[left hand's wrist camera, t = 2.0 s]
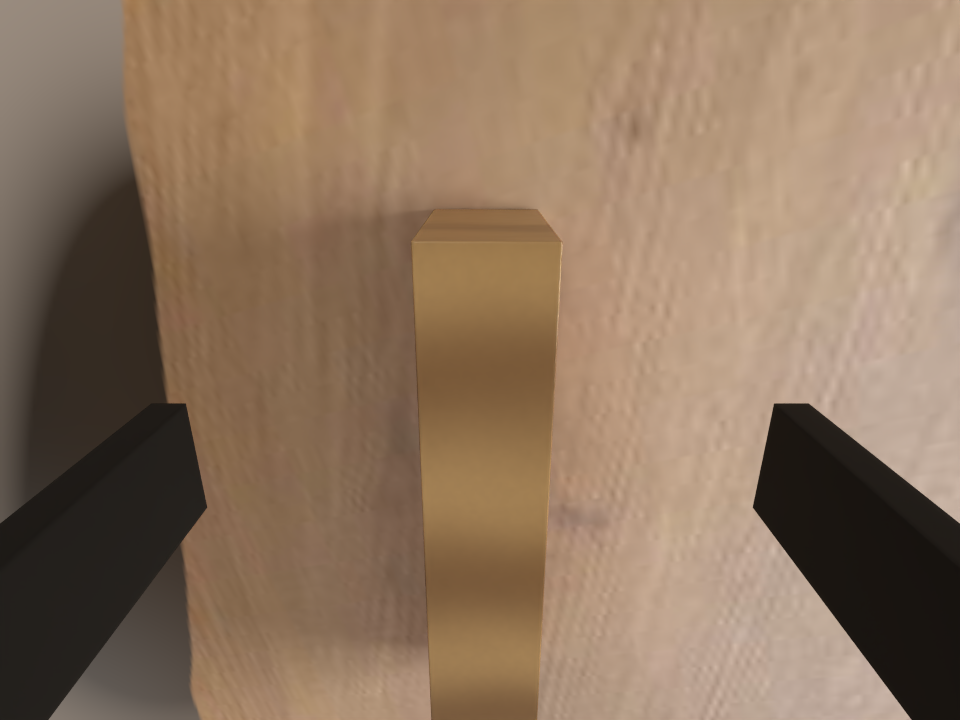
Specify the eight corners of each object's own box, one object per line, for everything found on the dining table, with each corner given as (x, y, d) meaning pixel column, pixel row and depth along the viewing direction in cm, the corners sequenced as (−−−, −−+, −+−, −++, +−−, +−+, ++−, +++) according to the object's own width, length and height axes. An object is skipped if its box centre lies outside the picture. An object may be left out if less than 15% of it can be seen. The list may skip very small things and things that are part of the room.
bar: (434, 209, 24) (410, 241, 17) (538, 209, 24) (562, 241, 17) (446, 649, 33) (434, 800, 26) (521, 649, 33) (532, 800, 26)
